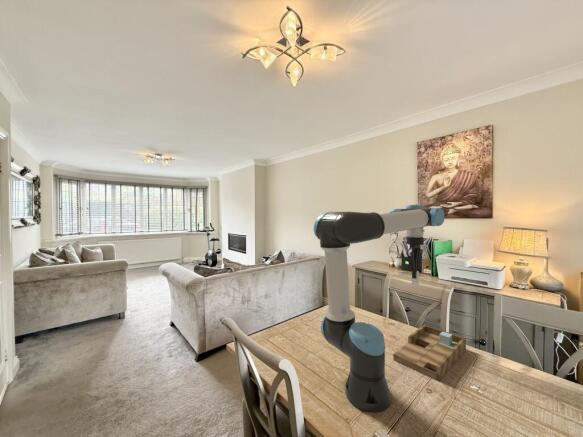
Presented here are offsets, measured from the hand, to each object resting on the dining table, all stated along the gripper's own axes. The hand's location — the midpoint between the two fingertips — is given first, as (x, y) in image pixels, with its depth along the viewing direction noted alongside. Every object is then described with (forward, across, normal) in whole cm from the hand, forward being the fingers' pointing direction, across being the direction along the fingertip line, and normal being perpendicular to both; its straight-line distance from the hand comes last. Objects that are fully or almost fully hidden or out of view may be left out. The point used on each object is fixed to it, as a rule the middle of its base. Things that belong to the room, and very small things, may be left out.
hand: (415, 284), depth 119 cm
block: (+26, +5, -12) cm, 29 cm away
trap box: (+28, -6, -9) cm, 30 cm away
